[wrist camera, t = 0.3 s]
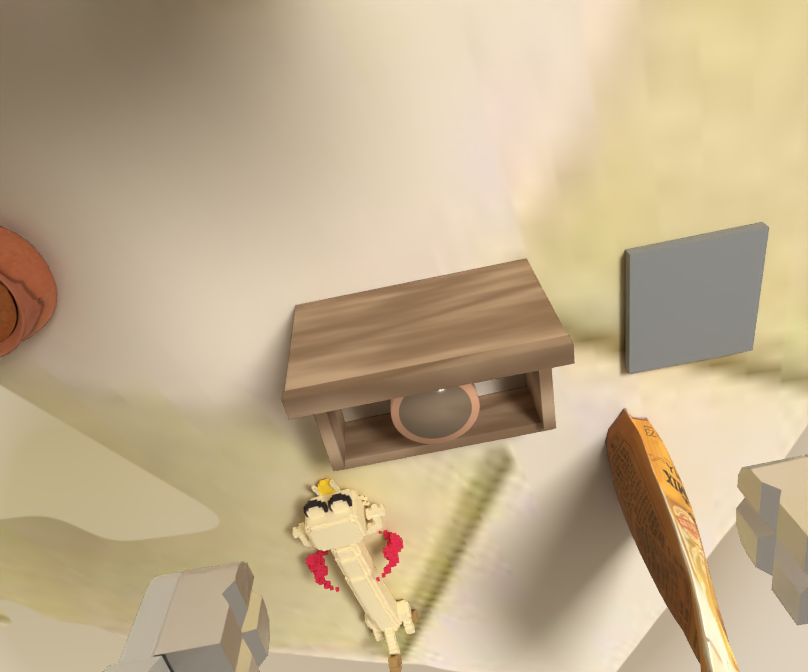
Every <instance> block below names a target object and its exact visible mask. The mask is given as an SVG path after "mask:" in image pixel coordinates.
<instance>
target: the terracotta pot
mask: <svg viewBox="0 0 808 672" xmlns="http://www.w3.org/2000/svg"><path fill="white" fill-rule="evenodd" d="M479 408H480V404H479V399H478V395H477V391H476V388H475V385H474V383H472V384H467V385H461V386H456V387H451V388H446V389H441V390H436V391H431V392H426V393H421V394H415V395H410V396H405V397H400V398H395V399H390V409H391V417H392V421H393V424H394V425H395V427H396V429H397V430H398V431H399V432H400V433H401V434H402V435H404V436H405V437H407V438H408V439H410V440H413V441H415V442H419V443H424V444H438V443H444V442H448V441H451V440H454V439H456V438H458V437H459V436H461V435H463V434H464V433H465V432H467V431H468V430H469V429H470V428H471V427H472V425H473V424H474V423H475V421H476V419H477V417H478V414H479Z"/></svg>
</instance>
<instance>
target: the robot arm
mask: <svg viewBox="0 0 808 672" xmlns="http://www.w3.org/2000/svg"><path fill="white" fill-rule="evenodd" d="M737 487H738V489H739V490H740V491H741V492H742V494H743V495H744V496H745V498H744V500H743V501H742V502H741V503H740V504H739V506H738V507H737V508H736V525H737V529H738V533H739V537H740V541H741V543H742V545H743V547H744V549H745V551H746V553H747V555H748V557H749V558H750V559H751V561H752V562H753V564H754V565H755V567H757V568H759V569H760V570H762V571H764V572H766V573H768V574H770V575H772V576H773V580H772V591H773V592H774V594H775V595H776V596H777V598H778V599H779V601H780V602H781V603H782V605H783V606H784V608H785V609H786V610H787V611H788V613H789V614H790V616H791V617H792V619H793V620H794V622H795V623H796V624H797V625H802V624H808V454H807V455H805V456H798V457H793V458H788V459H783V460H778V461H772V462H767V463H762V464H757V465H752V466H747V467H742V468H741V470H740V472H739V474H738V485H737ZM253 580H254V576H253V574H252V572H251V570H250V568H249V566H248V563H245V562H236V563H229V564H223V565H217V566H211V567H205V568H199V569H192V570H186V571H184V572H179V573H172V574H166V575H159V576H155V577H154V578H153V579H152V580H151V581H150V583H149V584H148V587H147V589H146V592H145V594H144V597H143V600H142V602H141V605H140V608H139V610H138V613H137V615H136V618H135V621H134V623H133V626H132V628H131V631H130V634H129V636H128V639H127V642H126V645H125V647H124V649H123V652H122V655H121V657H120V660H119V662H118V664H114V665H109V666H108V667H107V668H106V669H105V670H104V671H103V672H260V671H259V669H258V667H259V666H260V665H261V663H262V662H263V661H264V660H265V658H266V657H267V656H268V650H269V642H270V630H269V618H268V613H267V609H266V605H265V603H264V600H263V598H262V596H261V595H259V594H257V593H256V592H254V591H252V585H253Z"/></svg>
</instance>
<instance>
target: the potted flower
mask: <svg viewBox="0 0 808 672" xmlns="http://www.w3.org/2000/svg"><path fill="white" fill-rule="evenodd" d="M56 302H57V290H56V284H55V281H54V278H53V275H52V273H51V271H50V269H49V267H48V265H47V264H46V262H45V261H44V259H43V258H42V257H41V255H40V254H39V253H38V252H37V251H36V249H35V248H34V247H33V246H32V245H30V244H29V243H28V242H27V241H26V240H24V239H23V238H21V237H20V236H18V235H17V234H15V233H13V232H11V231H9V230H7V229H5V228H2V227H0V357H3V356H5V355H7V354H9V353H10V352H12V351H13V350H14V349H16V347H17V346H18V345H19V344H20V343H21V342H22V341H24V340H26V339H28V338H30V337H31V336H32V335H34V334H35V333H36V332H37V331H39V330H40V329H41V328H42V327H43V326H44V325H45V324H46V323H47V322H48V321H49V320H50V318H51V316H52V314H53V313H54V310H55V307H56Z"/></svg>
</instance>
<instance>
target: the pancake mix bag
mask: <svg viewBox="0 0 808 672" xmlns="http://www.w3.org/2000/svg"><path fill="white" fill-rule="evenodd" d="M606 447H607V453H608V458H609V464H610V469H611V474H612V478H613V483H614V487H615V490H616V493H617V496H618V499H619V502H620V505H621V508H622V510H623V513H624V516H625V519H626V521H627V524H628V526H629V529H630V531H631V533H632V536H633V538H634V540H635V543H636V545H637V547H638V549H639V552H640V554H641V556H642V558H643V560H644V562H645V564H646V566H647V568H648V570H649V572H650V575H651V577H652V578H653V580H654V582H655V584H656V586H657V588H658V590H659V592H660V594H661V596H662V598H663V600H664V601H665V603H666V605H667V607H668V608H669V610H670V612H671V613H672V615H673V616H674V618H675V620H676V621H677V623H678V624H679V625H680V627H681V628H682V630H683V632H684V633H685V636H686V638H687V640H688V642H689V644H690V646H691V648H692V650H693V652H694V654H695V656H696V658H697V659H698V661H699V663H700V665H701V672H739V669H738V666H737V663H736V661H735V658H734V655H733V653H732V650H731V648H730V645H729V641H728V638H727V634H726V630H725V627H724V624H723V620H722V617H721V614H720V610H719V607H718V603H717V599H716V596H715V592H714V588H713V585H712V581H711V577H710V572H709V568H708V564H707V560H706V557H705V553H704V549H703V546H702V542H701V538H700V535H699V531H698V528H697V524H696V521H695V517H694V514H693V511H692V507H691V505H690V502H689V500H688V497H687V495H686V492H685V490H684V487H683V484H682V482H681V479H680V477H679V475H678V473H677V471H676V468H675V466H674V464H673V462H672V460H671V458H670V456H669V453H668V451H667V449H666V447H665V445H664V444H663V442H662V440H661V438H660V437H659V435H658V434H657V432H656V431H655V429H654V428H653V426H652V425H651V424H650V422H649V421H648V419H647V418H633V417H631V416H630V414H629V413H628V411H627V410H626V408H625V409H624V410H623V412H622V413H621V414H620V415H619V417H618V418H617V419H616V421H615V422H614V423H613V424H612V425H611V427H610V428H609V429H608V433H607V437H606Z"/></svg>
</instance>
